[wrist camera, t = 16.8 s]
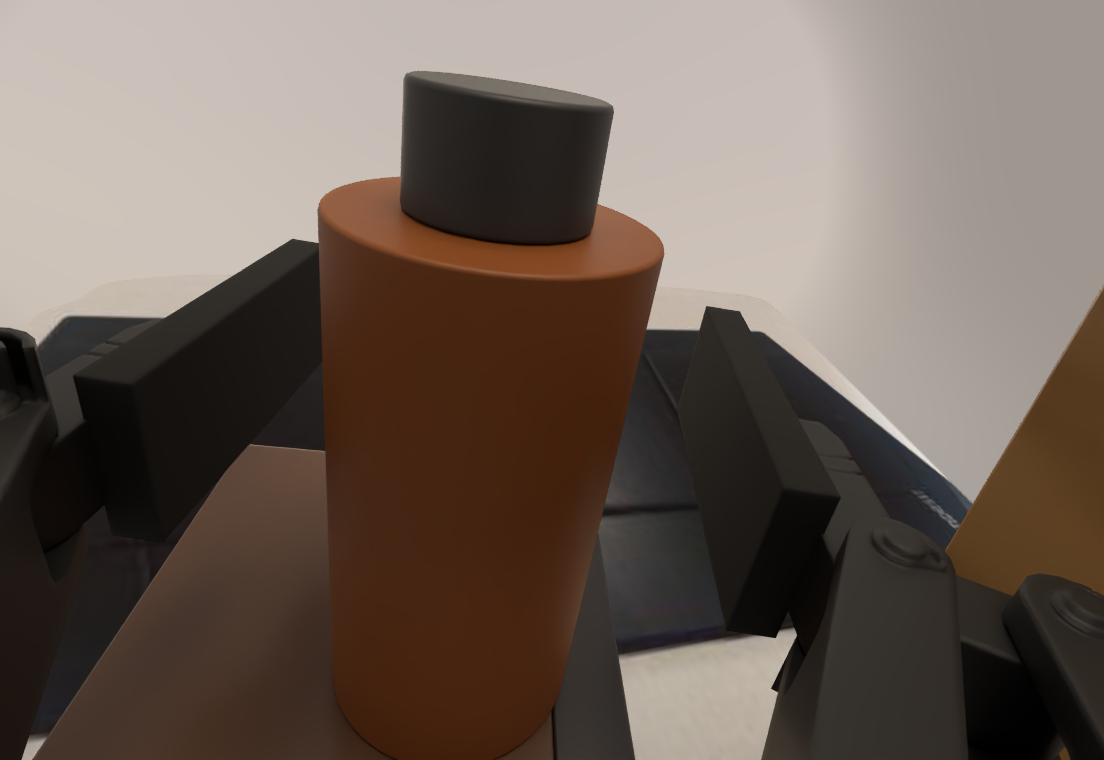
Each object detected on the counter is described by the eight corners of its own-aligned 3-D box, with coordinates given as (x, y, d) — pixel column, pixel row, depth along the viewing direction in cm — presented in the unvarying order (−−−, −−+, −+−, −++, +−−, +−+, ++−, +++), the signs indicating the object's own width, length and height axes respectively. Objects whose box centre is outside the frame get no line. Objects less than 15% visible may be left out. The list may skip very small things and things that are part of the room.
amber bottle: (579, 599, 14) (695, 108, 9) (535, 805, 10) (695, 140, 5) (393, 549, 15) (410, 58, 10) (282, 726, 11) (218, 53, 6)
